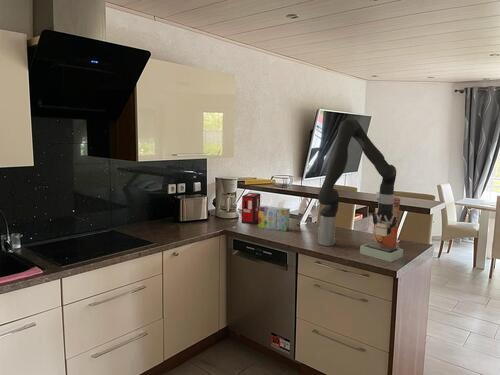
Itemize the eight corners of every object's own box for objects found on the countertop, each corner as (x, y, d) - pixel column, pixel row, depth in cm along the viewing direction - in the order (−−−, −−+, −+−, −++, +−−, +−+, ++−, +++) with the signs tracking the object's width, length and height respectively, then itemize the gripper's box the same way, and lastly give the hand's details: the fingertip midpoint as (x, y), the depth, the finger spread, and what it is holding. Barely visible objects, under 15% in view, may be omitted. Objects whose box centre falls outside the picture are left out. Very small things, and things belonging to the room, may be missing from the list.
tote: (359, 254, 208) (360, 245, 207) (372, 250, 217) (372, 241, 216) (390, 263, 195) (391, 254, 194) (402, 258, 204) (403, 249, 203)
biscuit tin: (367, 254, 207) (367, 245, 206) (375, 250, 213) (376, 242, 212) (388, 259, 198) (389, 250, 197) (396, 256, 204) (397, 247, 203)
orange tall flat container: (373, 238, 242) (376, 192, 238) (386, 239, 241) (389, 192, 237) (381, 249, 219) (385, 198, 215) (395, 250, 218) (400, 198, 214)
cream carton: (375, 234, 203) (376, 223, 202) (382, 232, 208) (383, 221, 207) (384, 236, 199) (385, 225, 199) (391, 234, 204) (391, 223, 203)
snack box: (289, 229, 258) (290, 208, 256) (286, 231, 253) (287, 209, 251) (261, 225, 268) (261, 204, 266) (257, 227, 263) (258, 206, 261)
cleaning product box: (248, 218, 289) (249, 192, 286) (259, 219, 286) (260, 193, 284) (241, 223, 273) (242, 195, 271) (253, 224, 271) (254, 196, 268)
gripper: (369, 201, 204) (367, 231, 206) (395, 205, 194) (392, 237, 196) (377, 199, 209) (374, 229, 211) (402, 203, 199) (399, 235, 201)
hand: (383, 233), depth 204 cm, fingers closed on cream carton, 5 cm apart
